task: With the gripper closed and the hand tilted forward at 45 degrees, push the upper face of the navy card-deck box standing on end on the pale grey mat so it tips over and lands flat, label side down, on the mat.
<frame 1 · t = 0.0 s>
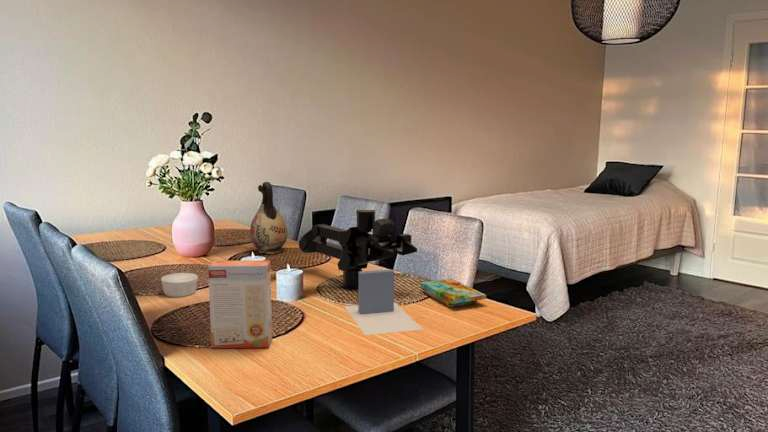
hand: (405, 252, 172), 17 cm above the table, tool horizontal, fingers open, 9 cm apart
ceramic jug: (269, 253, 241), on the table
mat: (381, 318, 163), on the table
cracker box: (242, 345, 143), on the table
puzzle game: (451, 300, 182), on the table
ramekin: (180, 293, 184), on the table
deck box: (376, 311, 167), resting on mat
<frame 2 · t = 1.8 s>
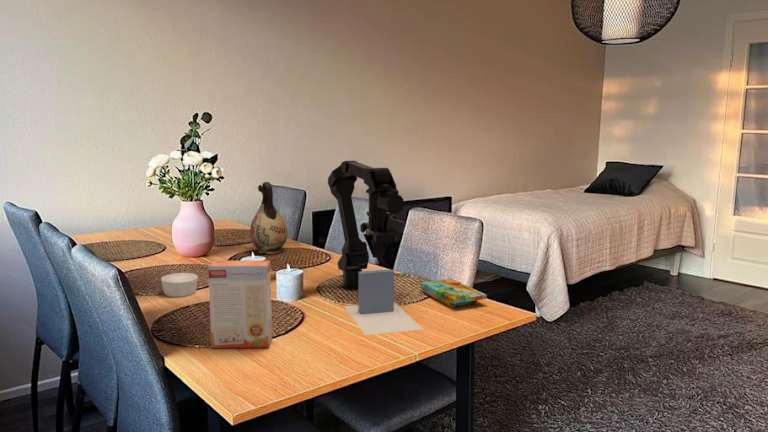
hand: (377, 259, 177), 13 cm above the table, tool pointing down, fingers open, 5 cm apart
nothing on the table moved.
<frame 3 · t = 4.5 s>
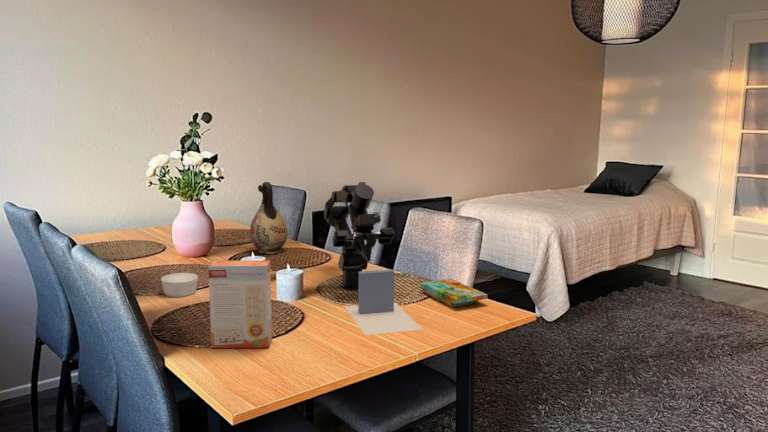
hand: (368, 260, 173), 14 cm above the table, tool tilted 45°, fingers closed
nothing on the table moved.
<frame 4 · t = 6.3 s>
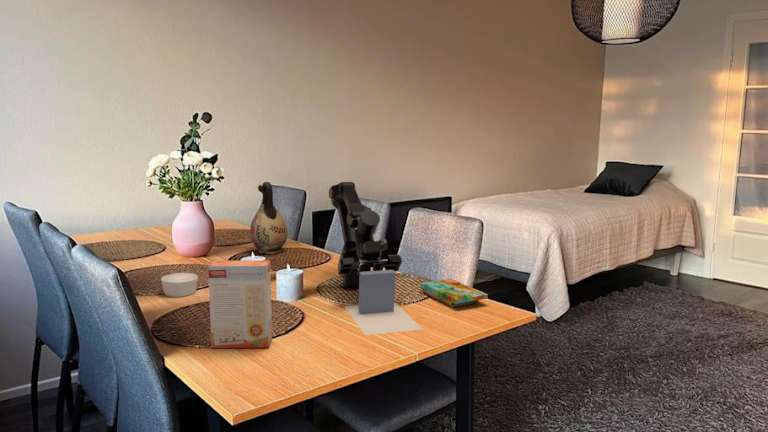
hand: (375, 289, 167), 7 cm above the table, tool tilted 45°, fingers closed
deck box: (376, 311, 167), point 1 cm above the table, tilted 5°, touching mat
everything else where it was.
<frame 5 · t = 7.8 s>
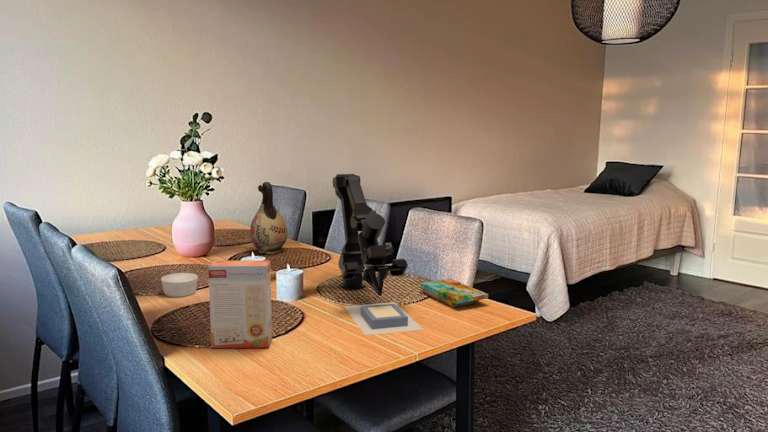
hand: (380, 294, 163), 7 cm above the table, tool tilted 45°, fingers closed
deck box: (377, 309, 166), point 2 cm above the table, tilted 90°, touching mat
everything else where it was.
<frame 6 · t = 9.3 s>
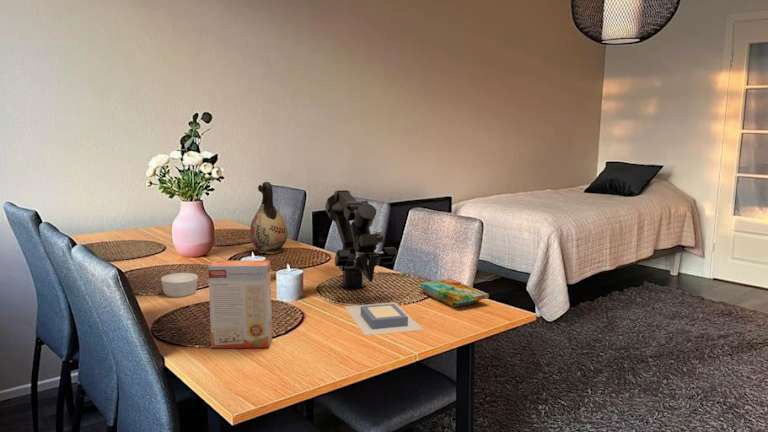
hand: (371, 281, 172), 8 cm above the table, tool tilted 45°, fingers closed
nothing on the table moved.
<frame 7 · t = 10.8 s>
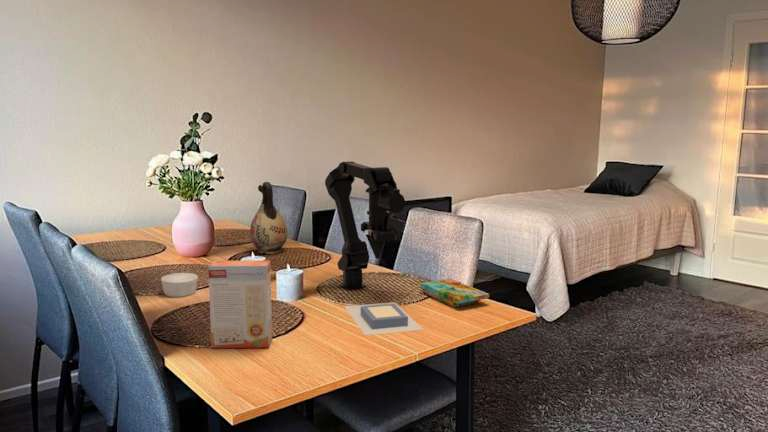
hand: (377, 258, 179), 13 cm above the table, tool pointing down, fingers closed
nothing on the table moved.
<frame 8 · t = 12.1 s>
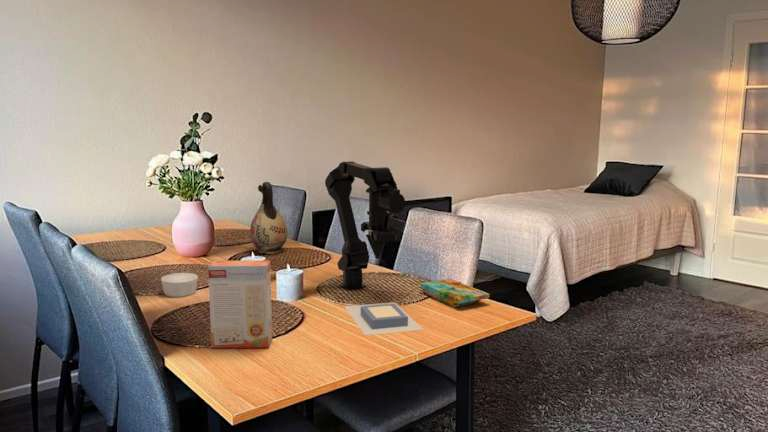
hand: (377, 258, 179), 13 cm above the table, tool pointing down, fingers closed
nothing on the table moved.
at the end: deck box tilted 90°; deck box inside the target area on the mat (3.6 cm from its centre), point 1.6 cm above the mat's base; the gripper is holding nothing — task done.
